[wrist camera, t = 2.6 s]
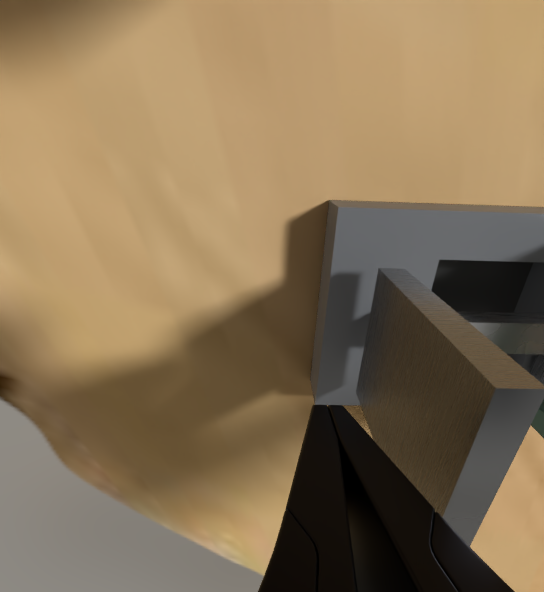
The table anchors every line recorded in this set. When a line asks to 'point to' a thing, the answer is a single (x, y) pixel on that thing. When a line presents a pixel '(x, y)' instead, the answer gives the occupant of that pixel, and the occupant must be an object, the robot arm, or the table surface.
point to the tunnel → (539, 420)
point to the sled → (448, 393)
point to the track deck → (419, 273)
